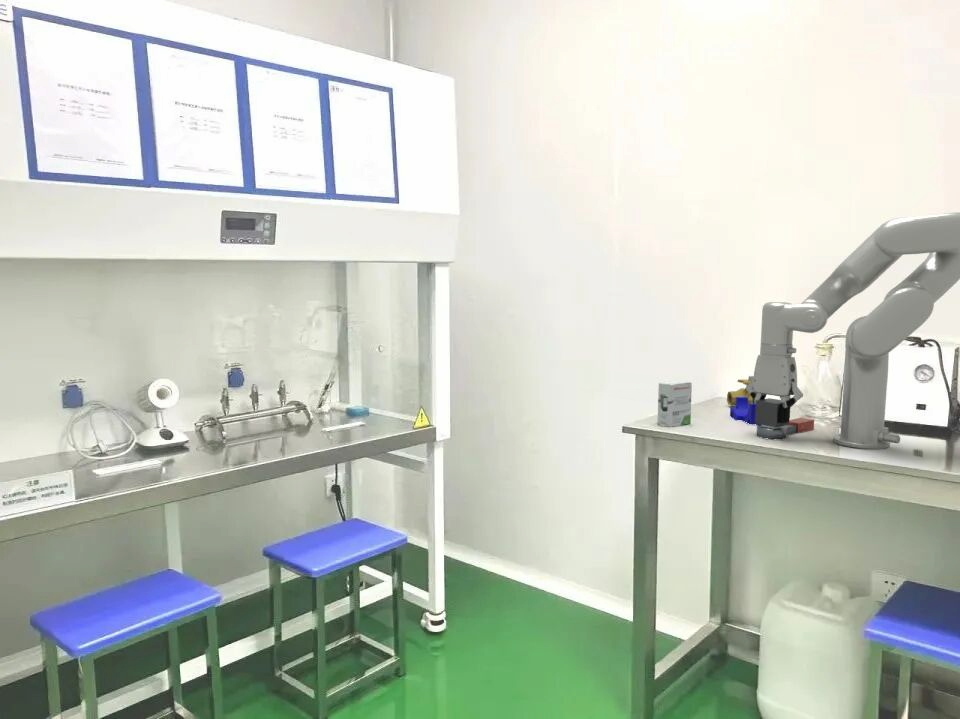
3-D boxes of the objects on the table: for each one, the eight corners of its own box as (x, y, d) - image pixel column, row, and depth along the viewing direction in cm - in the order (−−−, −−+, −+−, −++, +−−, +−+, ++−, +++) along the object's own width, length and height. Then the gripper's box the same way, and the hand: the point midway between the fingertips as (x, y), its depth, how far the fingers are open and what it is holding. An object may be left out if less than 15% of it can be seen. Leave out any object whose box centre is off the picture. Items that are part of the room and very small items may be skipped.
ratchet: (776, 440, 193) (777, 419, 192) (750, 435, 198) (751, 414, 198) (819, 430, 206) (821, 410, 205) (794, 425, 211) (795, 406, 211)
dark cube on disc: (789, 424, 197) (790, 401, 196) (776, 427, 193) (777, 403, 192) (767, 420, 201) (769, 398, 201) (754, 423, 198) (756, 400, 197)
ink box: (677, 421, 217) (679, 379, 216) (691, 424, 213) (693, 381, 212) (656, 424, 212) (657, 382, 211) (670, 427, 208) (671, 384, 207)
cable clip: (729, 417, 224) (730, 397, 223) (745, 417, 224) (746, 397, 223) (744, 425, 212) (746, 404, 211) (761, 425, 212) (762, 404, 212)
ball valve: (769, 411, 234) (771, 378, 233) (736, 411, 233) (737, 378, 232) (752, 403, 246) (754, 373, 245) (721, 403, 246) (722, 373, 245)
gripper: (816, 353, 190) (811, 424, 193) (754, 347, 204) (750, 413, 206) (800, 354, 186) (795, 427, 188) (737, 348, 199) (734, 416, 202)
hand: (772, 419), depth 197 cm, fingers closed on dark cube on disc, 6 cm apart
